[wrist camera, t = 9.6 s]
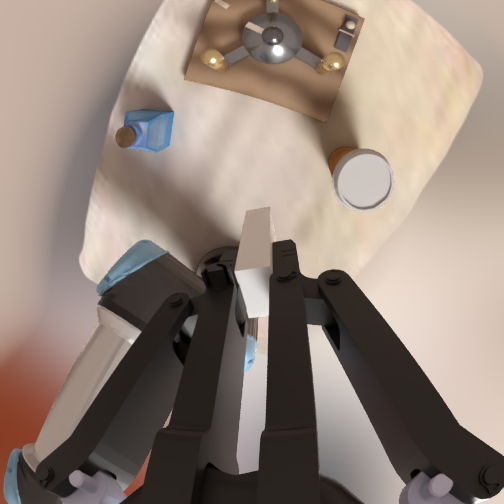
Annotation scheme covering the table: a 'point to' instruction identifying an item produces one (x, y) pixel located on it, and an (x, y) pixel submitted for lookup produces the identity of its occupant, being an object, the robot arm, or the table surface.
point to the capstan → (272, 44)
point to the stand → (285, 74)
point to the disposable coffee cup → (361, 178)
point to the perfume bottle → (146, 130)
